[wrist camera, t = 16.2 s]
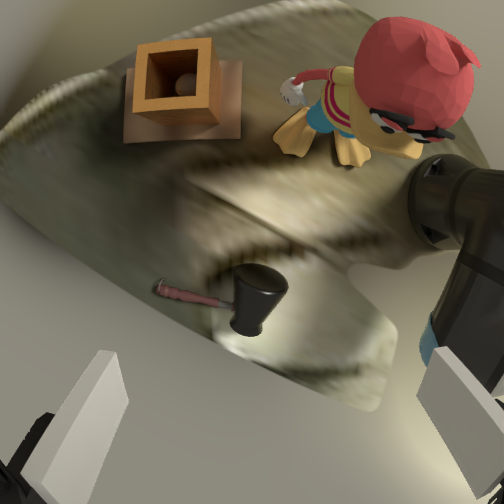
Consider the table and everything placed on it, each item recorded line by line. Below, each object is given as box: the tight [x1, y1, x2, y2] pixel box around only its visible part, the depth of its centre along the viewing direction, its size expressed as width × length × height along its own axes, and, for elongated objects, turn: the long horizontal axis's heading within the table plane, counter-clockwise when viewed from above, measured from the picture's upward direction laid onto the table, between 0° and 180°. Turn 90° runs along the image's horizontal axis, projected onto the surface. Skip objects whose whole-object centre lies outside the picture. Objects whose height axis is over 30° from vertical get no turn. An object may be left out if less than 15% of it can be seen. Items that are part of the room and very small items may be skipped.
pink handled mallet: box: [156, 263, 289, 337], centre depth 43 cm, size 8×18×8 cm
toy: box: [273, 17, 481, 168], centre depth 24 cm, size 15×10×30 cm
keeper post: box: [123, 61, 242, 144], centre depth 33 cm, size 16×11×10 cm
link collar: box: [133, 38, 222, 126], centre depth 30 cm, size 7×7×12 cm
